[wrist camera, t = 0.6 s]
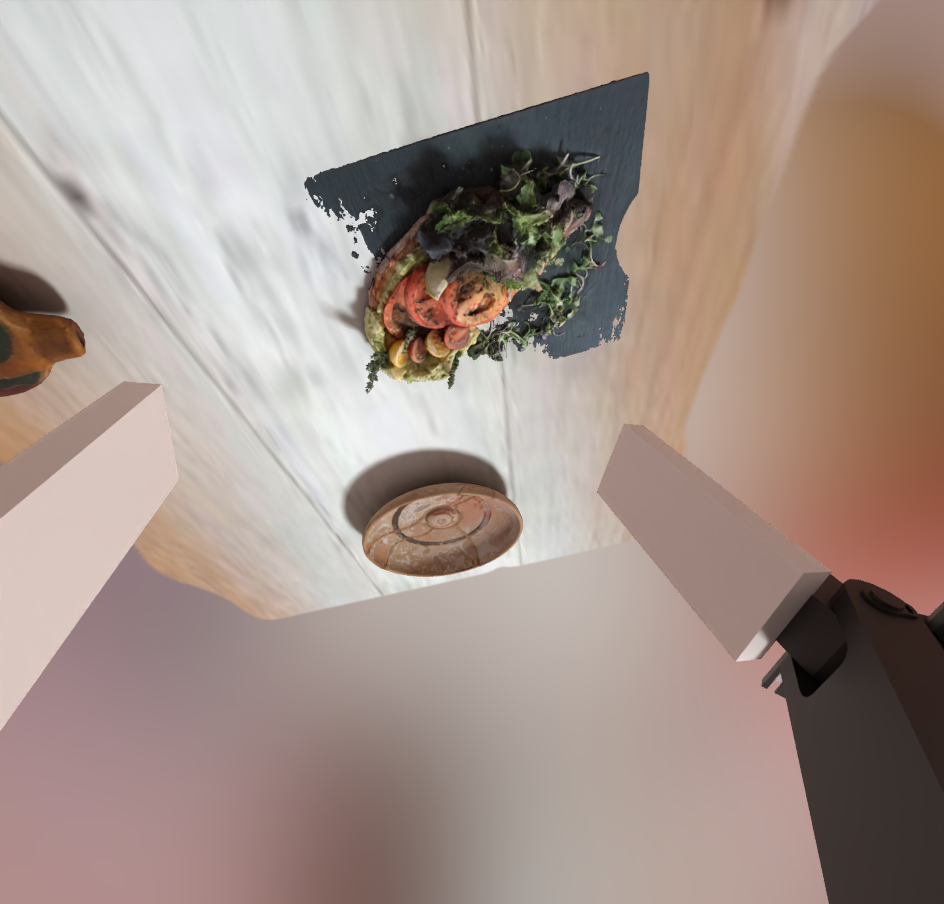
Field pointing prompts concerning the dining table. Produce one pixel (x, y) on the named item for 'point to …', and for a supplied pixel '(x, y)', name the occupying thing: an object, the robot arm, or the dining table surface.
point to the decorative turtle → (34, 347)
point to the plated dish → (497, 231)
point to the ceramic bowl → (442, 530)
